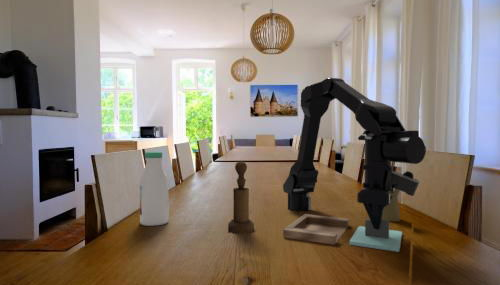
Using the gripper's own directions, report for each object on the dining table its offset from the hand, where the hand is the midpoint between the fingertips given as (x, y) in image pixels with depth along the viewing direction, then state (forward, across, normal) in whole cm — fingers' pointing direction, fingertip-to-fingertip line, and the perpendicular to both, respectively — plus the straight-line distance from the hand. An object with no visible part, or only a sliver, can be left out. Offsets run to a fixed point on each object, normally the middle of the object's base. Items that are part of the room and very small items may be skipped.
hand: (377, 227), depth 77 cm
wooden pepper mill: (+4, -7, +32) cm, 33 cm away
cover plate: (+3, 0, 0) cm, 3 cm away
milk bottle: (+4, -10, +58) cm, 59 cm away
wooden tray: (+3, 0, +14) cm, 14 cm away
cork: (+4, +21, -1) cm, 21 cm away
